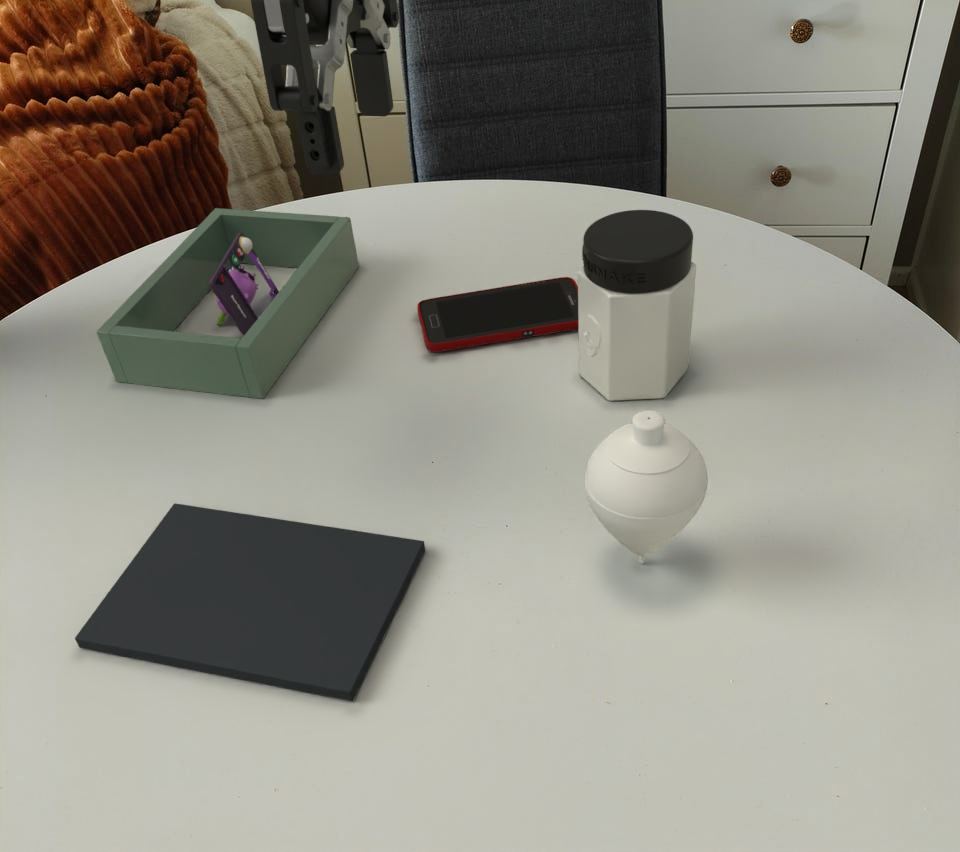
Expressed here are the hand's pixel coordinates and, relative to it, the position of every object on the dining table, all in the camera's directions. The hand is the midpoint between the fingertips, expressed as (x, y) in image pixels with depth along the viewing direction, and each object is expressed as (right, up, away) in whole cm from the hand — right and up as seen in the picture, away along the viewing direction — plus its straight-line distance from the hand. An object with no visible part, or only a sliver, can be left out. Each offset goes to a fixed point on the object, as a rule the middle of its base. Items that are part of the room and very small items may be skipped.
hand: (352, 142), depth 65 cm
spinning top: (+19, -26, +6) cm, 33 cm away
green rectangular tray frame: (-14, -2, +31) cm, 34 cm away
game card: (-14, -2, +31) cm, 34 cm away
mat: (-7, -29, +6) cm, 30 cm away
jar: (+21, -9, +20) cm, 31 cm away
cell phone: (+10, -3, +27) cm, 29 cm away
